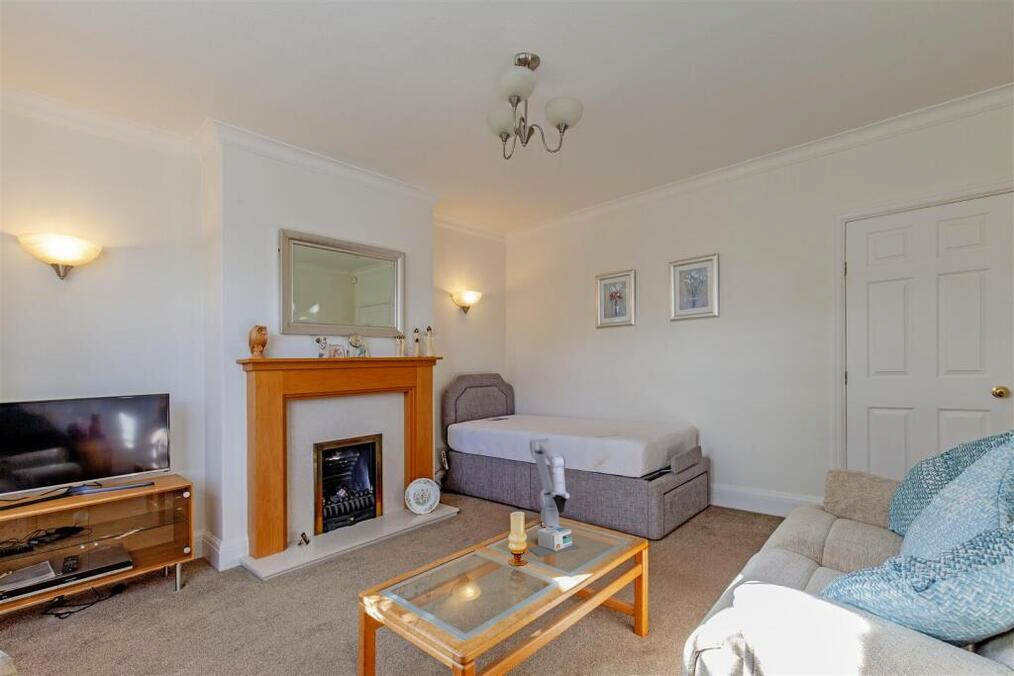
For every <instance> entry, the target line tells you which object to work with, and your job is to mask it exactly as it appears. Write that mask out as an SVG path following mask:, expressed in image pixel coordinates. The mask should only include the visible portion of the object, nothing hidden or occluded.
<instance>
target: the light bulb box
mask: <svg viewBox="0 0 1014 676" xmlns="http://www.w3.org/2000/svg"><path fill="white" fill-rule="evenodd" d="M572 532H573V531H572V529H569V528H566V527H564V526H563V527H560V526H557V525H553V526H549V527H546V528H544V527H543V528H540V529H538V530H537V538H538V539H537V541H538V545H537V546H543V547H546V548H548V549H551V550H554V551H557V550H560V549H563V548H566V547H569V546H571V545H572V543H573V538H572V537H573V534H572Z"/></svg>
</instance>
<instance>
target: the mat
mask: <svg viewBox="0 0 1014 676" xmlns="http://www.w3.org/2000/svg"><path fill="white" fill-rule="evenodd" d="M527 548H528V549H529V551H530V552H532V553H533V554H535V555H536V556H537V557H539V558H541V557H545V556H549V555H553V554H554V555H555V554H559V553H562V552H568V551H571V550H572V551H573V550H575V549H581V547H580V546H579V545H577V544H576V543H574V542H572V545H571V546H569V547H566V548H563V549H560V550H557V551H554V550H551V549H548V548H546V547H543V546H540V545H537V546H536V545H535V546H531V547H527ZM528 549H527V550H528Z"/></svg>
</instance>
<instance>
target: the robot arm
mask: <svg viewBox="0 0 1014 676" xmlns="http://www.w3.org/2000/svg"><path fill="white" fill-rule="evenodd" d="M529 452H530V455H531V458H532V459H534V460H535V463H536V466H537V470H538V473H539V477H540V483H541V486H542V490H541V491H540V492H539V504H540V507H541V511H540V522H541V521H543V523H544V524H545V526H546V527H549V526H553V525H557V526H559V525H560V514H561V513H562V514H563V513H564V512H565V506H566V502H567V500H568V499H570V493H568V492H567V491H566V490H567V489H566V480H565V479H566V477H565V468H566V465H567V463H566V457H565V456H564V455H563V454H561V455H560V454H559V453H558V451H556V449H554V448H551V442H550V440H549V439H548V438H545V439H543V438H541V439H531V440H530V441H529ZM546 460H547V461H548V463H549V467H550V471H549V468H548V465H547V461H546ZM550 472H551V474H552V475H551V476H552V478H551V476H550Z"/></svg>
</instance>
